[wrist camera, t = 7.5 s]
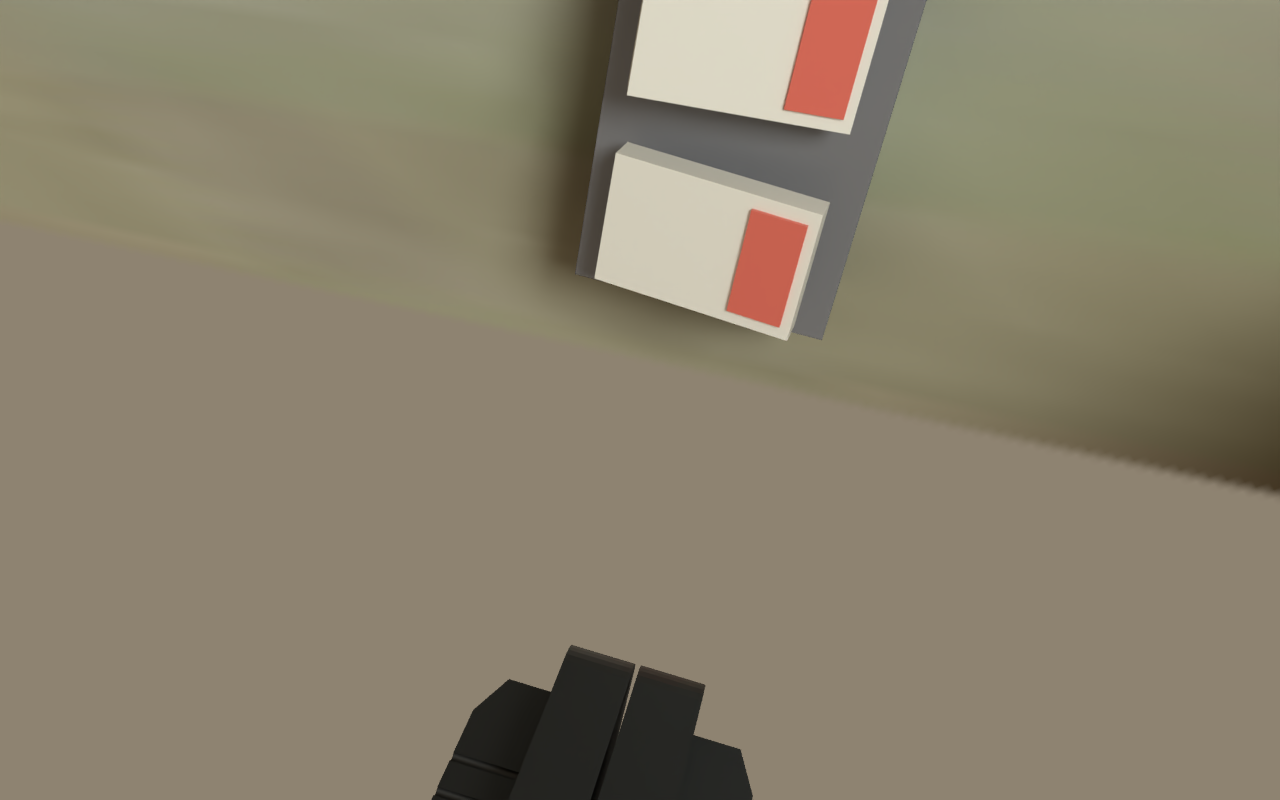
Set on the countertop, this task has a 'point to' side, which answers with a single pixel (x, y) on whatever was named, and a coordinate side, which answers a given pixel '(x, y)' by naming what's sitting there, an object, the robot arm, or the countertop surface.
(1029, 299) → the countertop surface
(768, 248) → the rocker
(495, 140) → the countertop surface
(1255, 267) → the countertop surface
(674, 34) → the rocker middle
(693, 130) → the power strip
